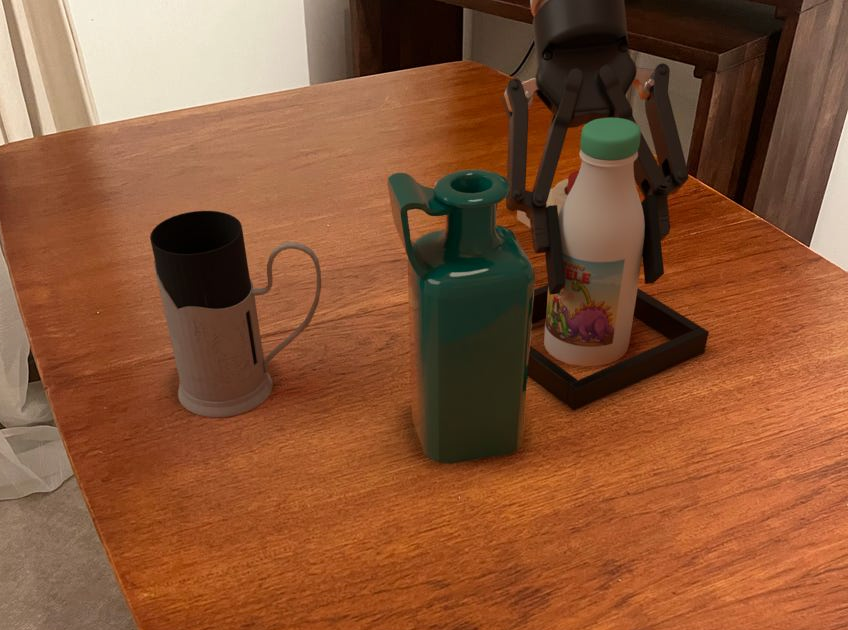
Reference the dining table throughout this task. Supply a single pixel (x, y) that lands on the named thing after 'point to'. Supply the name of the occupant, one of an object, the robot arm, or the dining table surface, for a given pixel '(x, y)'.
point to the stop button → (571, 180)
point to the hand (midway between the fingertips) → (605, 283)
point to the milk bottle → (599, 250)
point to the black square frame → (578, 393)
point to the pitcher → (465, 317)
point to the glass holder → (216, 312)
